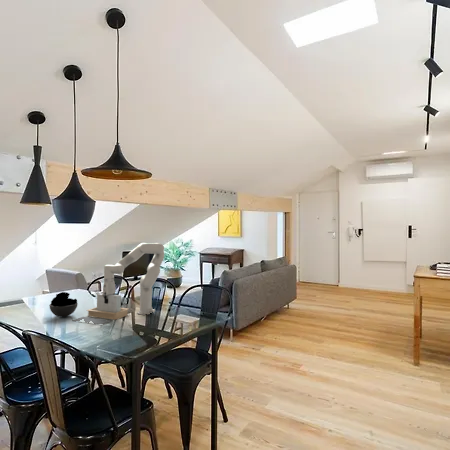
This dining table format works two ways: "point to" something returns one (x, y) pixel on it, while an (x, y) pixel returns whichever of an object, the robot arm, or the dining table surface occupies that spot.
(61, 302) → the coal bowl
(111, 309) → the skincare box
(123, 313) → the wooden frame
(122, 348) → the dining table surface
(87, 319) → the mat
